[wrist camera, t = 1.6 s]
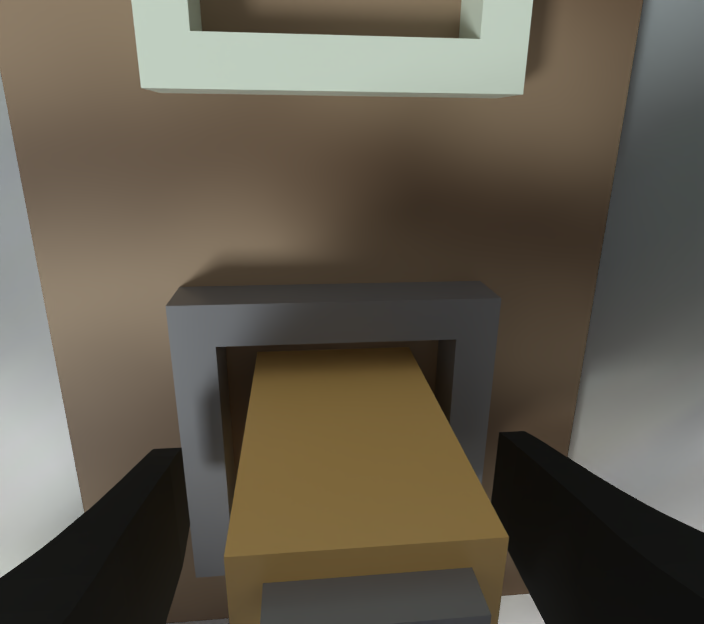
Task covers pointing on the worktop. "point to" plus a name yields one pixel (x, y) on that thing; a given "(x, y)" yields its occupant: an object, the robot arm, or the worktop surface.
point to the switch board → (306, 209)
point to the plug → (357, 499)
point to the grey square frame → (315, 328)
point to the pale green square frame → (334, 56)
